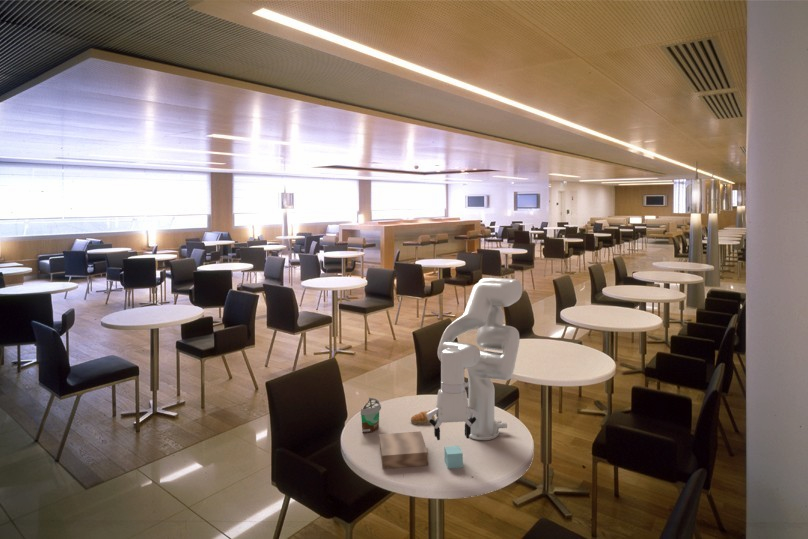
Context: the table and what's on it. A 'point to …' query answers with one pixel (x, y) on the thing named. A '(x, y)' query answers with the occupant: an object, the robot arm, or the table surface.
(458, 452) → the teal cube
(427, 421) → the pastry
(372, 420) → the food container
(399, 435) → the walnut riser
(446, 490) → the table surface
